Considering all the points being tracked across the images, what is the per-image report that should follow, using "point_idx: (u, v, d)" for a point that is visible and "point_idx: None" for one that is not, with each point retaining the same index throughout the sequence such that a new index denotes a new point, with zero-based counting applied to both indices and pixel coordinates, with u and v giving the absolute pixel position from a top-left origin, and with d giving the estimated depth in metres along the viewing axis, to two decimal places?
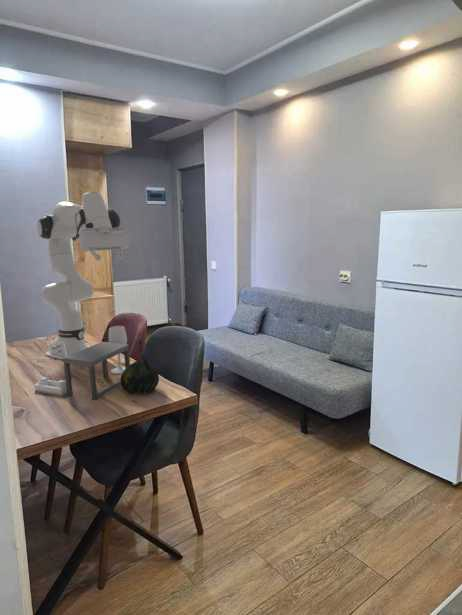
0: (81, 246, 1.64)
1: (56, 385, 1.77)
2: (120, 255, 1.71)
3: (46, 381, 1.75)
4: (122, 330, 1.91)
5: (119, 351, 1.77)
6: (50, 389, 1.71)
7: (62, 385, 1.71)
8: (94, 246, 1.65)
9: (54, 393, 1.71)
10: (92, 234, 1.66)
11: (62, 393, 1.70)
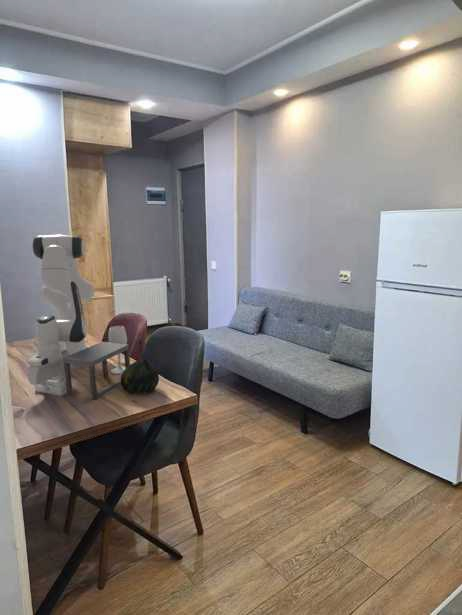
0: (32, 382, 1.64)
1: (56, 385, 1.77)
2: None
3: None
4: (122, 330, 1.91)
5: (119, 351, 1.77)
6: (50, 389, 1.71)
7: (62, 385, 1.71)
8: (44, 381, 1.68)
9: (54, 393, 1.71)
10: (44, 368, 1.67)
11: (62, 393, 1.70)
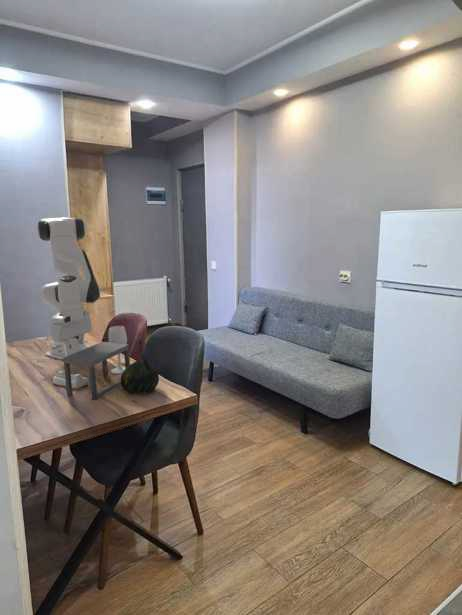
0: (55, 339, 1.69)
1: (73, 378, 1.84)
2: (81, 342, 1.81)
3: (64, 374, 1.83)
4: (122, 330, 1.91)
5: (119, 351, 1.77)
6: None
7: (77, 379, 1.78)
8: (67, 339, 1.72)
9: None
10: (66, 326, 1.72)
11: (77, 387, 1.77)
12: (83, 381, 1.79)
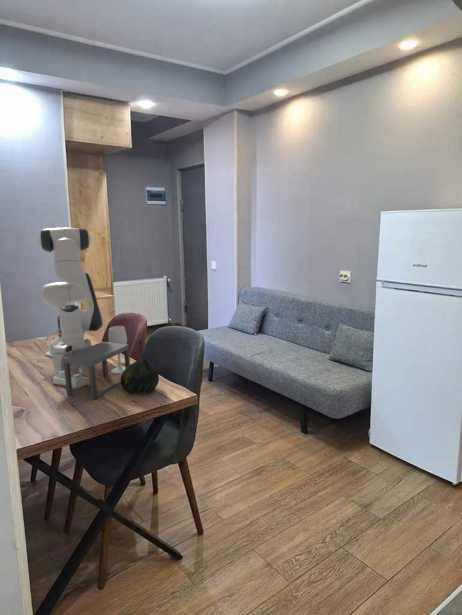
0: (57, 368, 1.70)
1: (73, 378, 1.84)
2: (82, 370, 1.83)
3: (64, 374, 1.83)
4: (122, 330, 1.91)
5: (119, 351, 1.77)
6: None
7: (77, 379, 1.78)
8: None
9: None
10: (68, 355, 1.73)
11: (77, 387, 1.77)
12: (83, 381, 1.79)
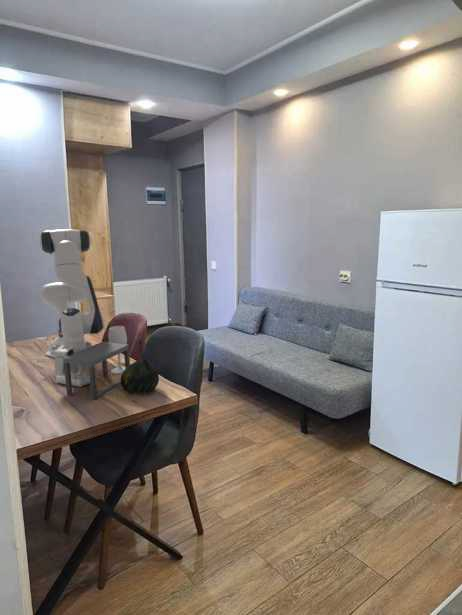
0: (58, 372, 1.71)
1: None
2: None
3: None
4: (122, 330, 1.91)
5: (119, 351, 1.77)
6: None
7: (81, 377, 1.79)
8: (70, 371, 1.75)
9: (74, 384, 1.79)
10: None
11: (81, 385, 1.78)
12: (87, 379, 1.81)
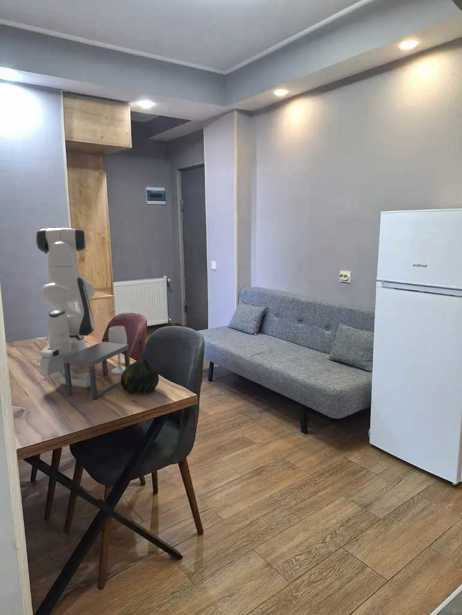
0: (44, 372, 1.74)
1: (80, 378, 1.84)
2: None
3: (71, 374, 1.83)
4: (122, 330, 1.91)
5: (119, 351, 1.77)
6: (75, 382, 1.79)
7: (87, 378, 1.78)
8: (55, 371, 1.78)
9: (79, 385, 1.78)
10: (55, 359, 1.77)
11: (87, 386, 1.77)
12: None
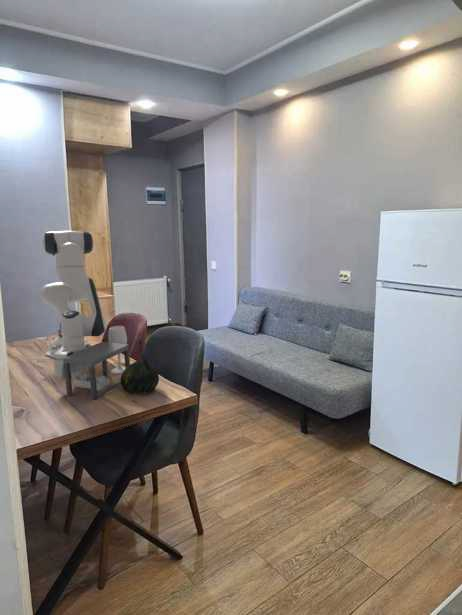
0: (58, 374, 1.72)
1: None
2: None
3: (85, 376, 1.80)
4: (122, 330, 1.91)
5: (119, 351, 1.77)
6: (90, 384, 1.76)
7: (101, 380, 1.76)
8: None
9: None
10: None
11: (102, 388, 1.74)
12: (107, 382, 1.77)
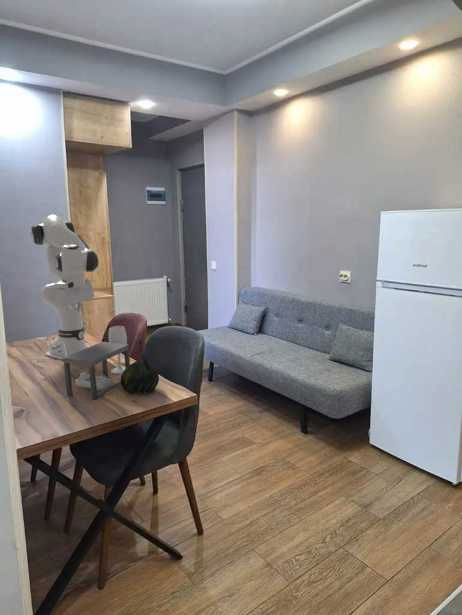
0: (59, 303, 1.77)
1: (96, 380, 1.81)
2: (79, 310, 1.88)
3: (86, 376, 1.80)
4: (122, 330, 1.91)
5: (119, 351, 1.77)
6: None
7: (103, 380, 1.75)
8: (70, 304, 1.81)
9: None
10: (70, 292, 1.80)
11: (103, 388, 1.74)
12: (108, 382, 1.77)
